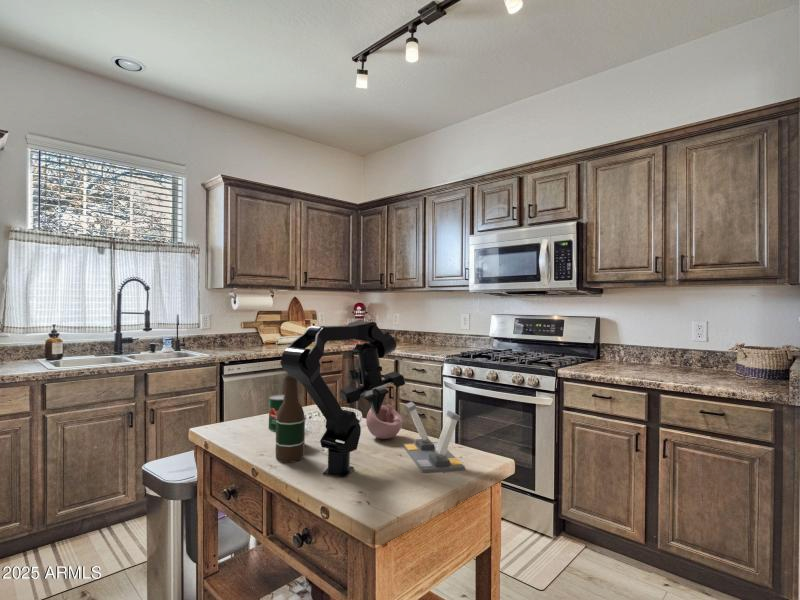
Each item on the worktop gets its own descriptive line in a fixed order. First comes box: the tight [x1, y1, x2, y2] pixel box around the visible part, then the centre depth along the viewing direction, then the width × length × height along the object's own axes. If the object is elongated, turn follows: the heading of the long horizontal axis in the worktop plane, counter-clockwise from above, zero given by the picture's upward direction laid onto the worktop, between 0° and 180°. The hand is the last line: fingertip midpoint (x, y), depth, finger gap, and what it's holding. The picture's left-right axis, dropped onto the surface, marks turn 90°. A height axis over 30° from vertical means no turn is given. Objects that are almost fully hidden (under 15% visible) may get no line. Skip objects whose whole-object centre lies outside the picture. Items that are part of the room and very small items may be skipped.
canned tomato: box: [268, 394, 284, 432], centre depth 158 cm, size 8×8×11 cm
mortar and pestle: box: [366, 404, 404, 440], centre depth 149 cm, size 12×12×12 cm
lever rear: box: [405, 401, 430, 443], centre depth 138 cm, size 2×4×12 cm, turn 13°
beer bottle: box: [275, 373, 305, 464], centre depth 128 cm, size 8×8×24 cm
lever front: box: [435, 410, 461, 459], centre depth 125 cm, size 2×4×12 cm, turn 13°
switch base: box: [402, 438, 466, 473], centre depth 132 cm, size 12×22×2 cm, turn 13°
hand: (376, 413), depth 132 cm, fingers closed
